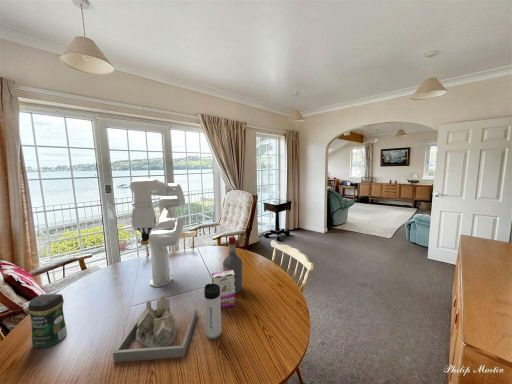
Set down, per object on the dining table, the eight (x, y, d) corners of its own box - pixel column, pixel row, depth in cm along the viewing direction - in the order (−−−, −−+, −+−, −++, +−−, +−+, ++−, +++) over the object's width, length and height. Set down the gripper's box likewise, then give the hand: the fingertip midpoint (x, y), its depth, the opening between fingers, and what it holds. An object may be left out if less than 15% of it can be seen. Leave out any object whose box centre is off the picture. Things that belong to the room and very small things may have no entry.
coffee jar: (27, 349, 77) (21, 302, 76) (49, 332, 85) (44, 290, 84) (52, 349, 77) (46, 302, 75) (71, 333, 85) (67, 290, 83)
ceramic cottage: (139, 324, 89) (138, 292, 87) (179, 318, 93) (179, 288, 91) (126, 357, 74) (124, 320, 72) (174, 349, 78) (174, 313, 76)
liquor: (230, 296, 109) (229, 241, 106) (222, 289, 116) (220, 237, 113) (244, 290, 114) (243, 237, 112) (235, 283, 121) (234, 234, 119)
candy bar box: (234, 299, 106) (233, 269, 104) (236, 306, 101) (235, 274, 99) (212, 303, 103) (211, 272, 101) (213, 310, 98) (212, 277, 96)
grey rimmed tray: (143, 318, 93) (142, 311, 92) (197, 315, 95) (196, 308, 94) (113, 362, 71) (113, 352, 71) (184, 356, 73) (183, 347, 73)
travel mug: (214, 325, 88) (212, 280, 86) (224, 332, 84) (223, 286, 82) (202, 334, 83) (200, 287, 82) (212, 342, 79) (210, 293, 77)
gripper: (123, 206, 98) (126, 243, 100) (156, 205, 99) (158, 242, 101) (131, 203, 105) (133, 238, 107) (161, 203, 107) (163, 237, 109)
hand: (145, 240), depth 104 cm, fingers closed
